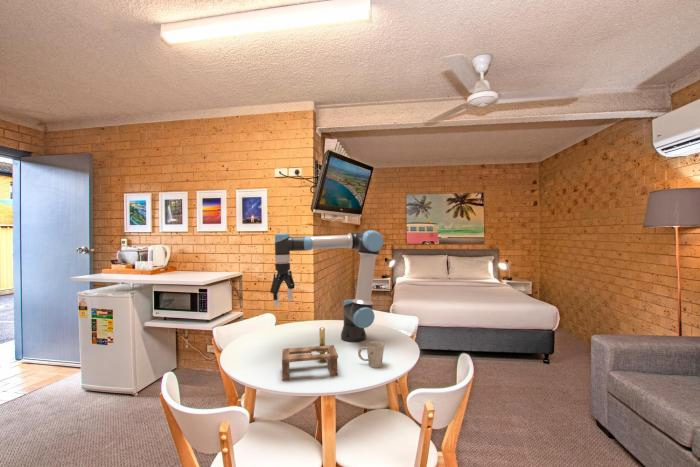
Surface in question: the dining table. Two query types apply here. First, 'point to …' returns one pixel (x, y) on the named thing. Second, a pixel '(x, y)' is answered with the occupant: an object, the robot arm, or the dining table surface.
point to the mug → (373, 353)
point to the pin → (322, 341)
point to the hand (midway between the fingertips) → (283, 303)
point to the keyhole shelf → (309, 358)
